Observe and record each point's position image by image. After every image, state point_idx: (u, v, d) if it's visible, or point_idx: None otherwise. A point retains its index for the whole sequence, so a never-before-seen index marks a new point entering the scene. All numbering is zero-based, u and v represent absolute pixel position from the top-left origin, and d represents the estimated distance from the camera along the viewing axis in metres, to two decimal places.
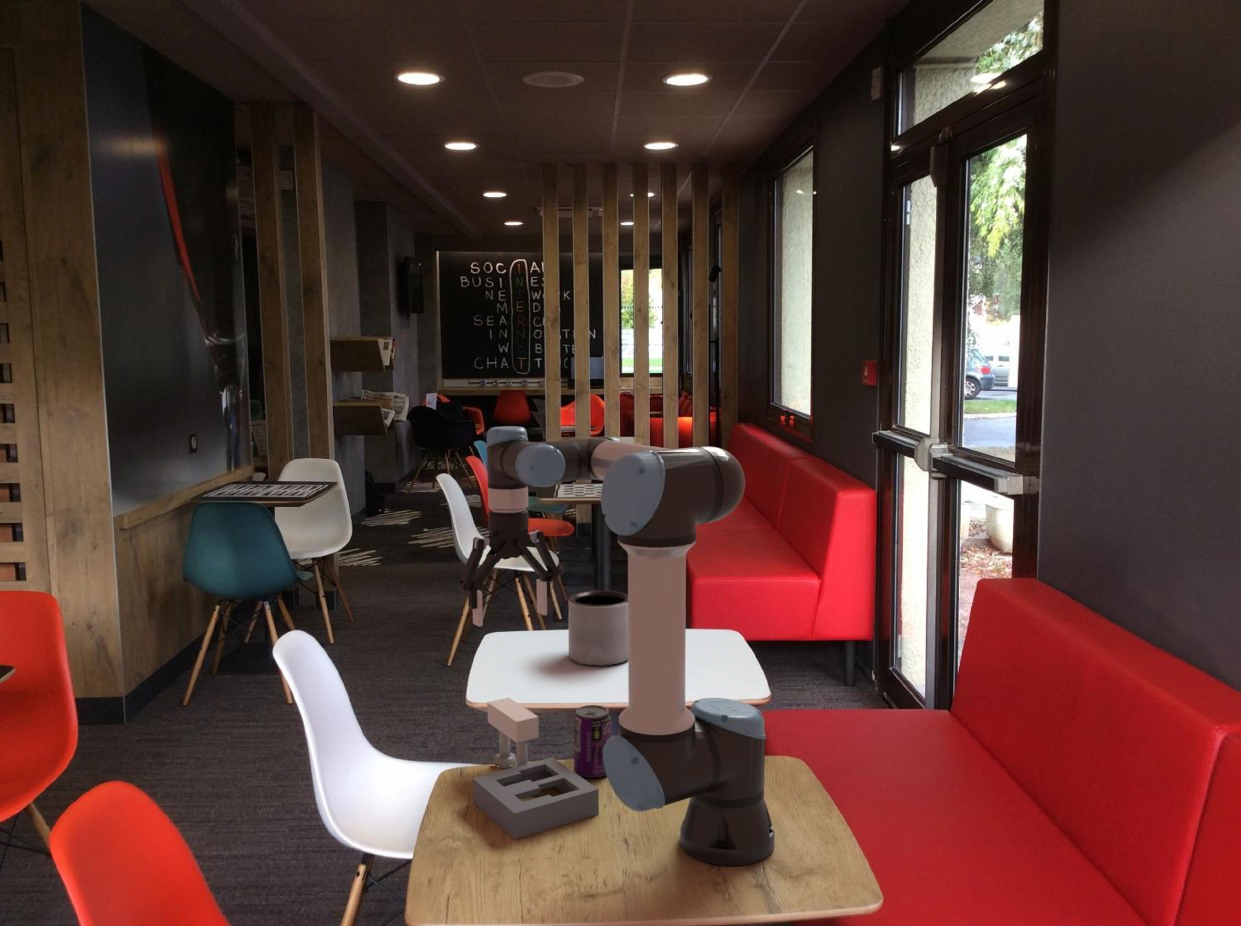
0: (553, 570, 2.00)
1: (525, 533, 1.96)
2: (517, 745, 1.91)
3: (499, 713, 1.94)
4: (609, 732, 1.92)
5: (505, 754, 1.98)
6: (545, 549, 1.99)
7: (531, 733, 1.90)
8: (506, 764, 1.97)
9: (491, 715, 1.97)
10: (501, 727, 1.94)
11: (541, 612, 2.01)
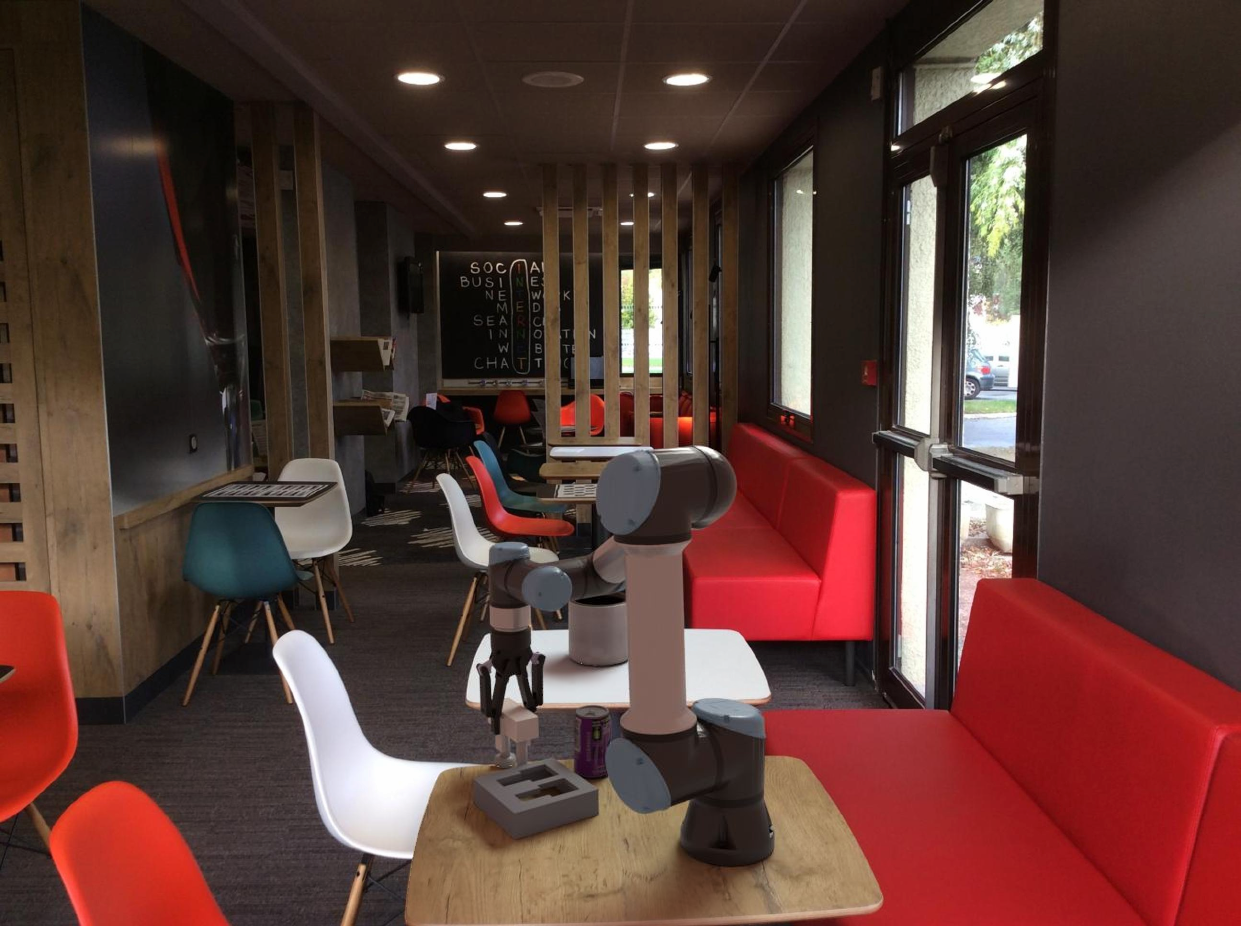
0: (538, 698, 1.96)
1: (528, 650, 1.94)
2: (517, 745, 1.91)
3: None
4: (609, 732, 1.92)
5: (505, 754, 1.98)
6: (540, 674, 1.95)
7: (531, 733, 1.90)
8: (506, 764, 1.97)
9: None
10: None
11: None
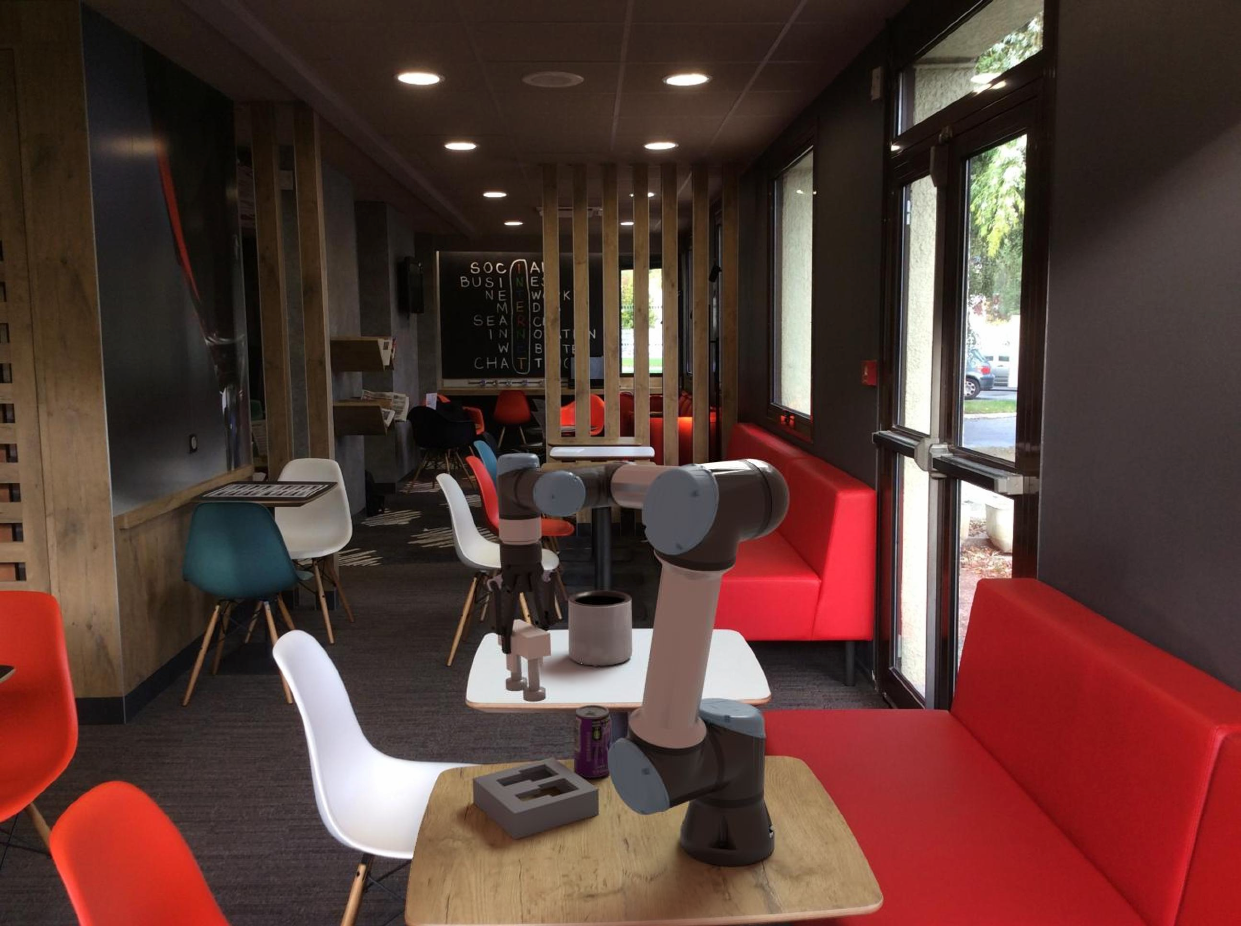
0: (550, 617, 1.88)
1: (539, 566, 1.86)
2: (529, 664, 1.84)
3: None
4: (609, 732, 1.92)
5: (516, 677, 1.90)
6: (552, 592, 1.88)
7: (543, 651, 1.83)
8: (518, 687, 1.89)
9: None
10: None
11: None
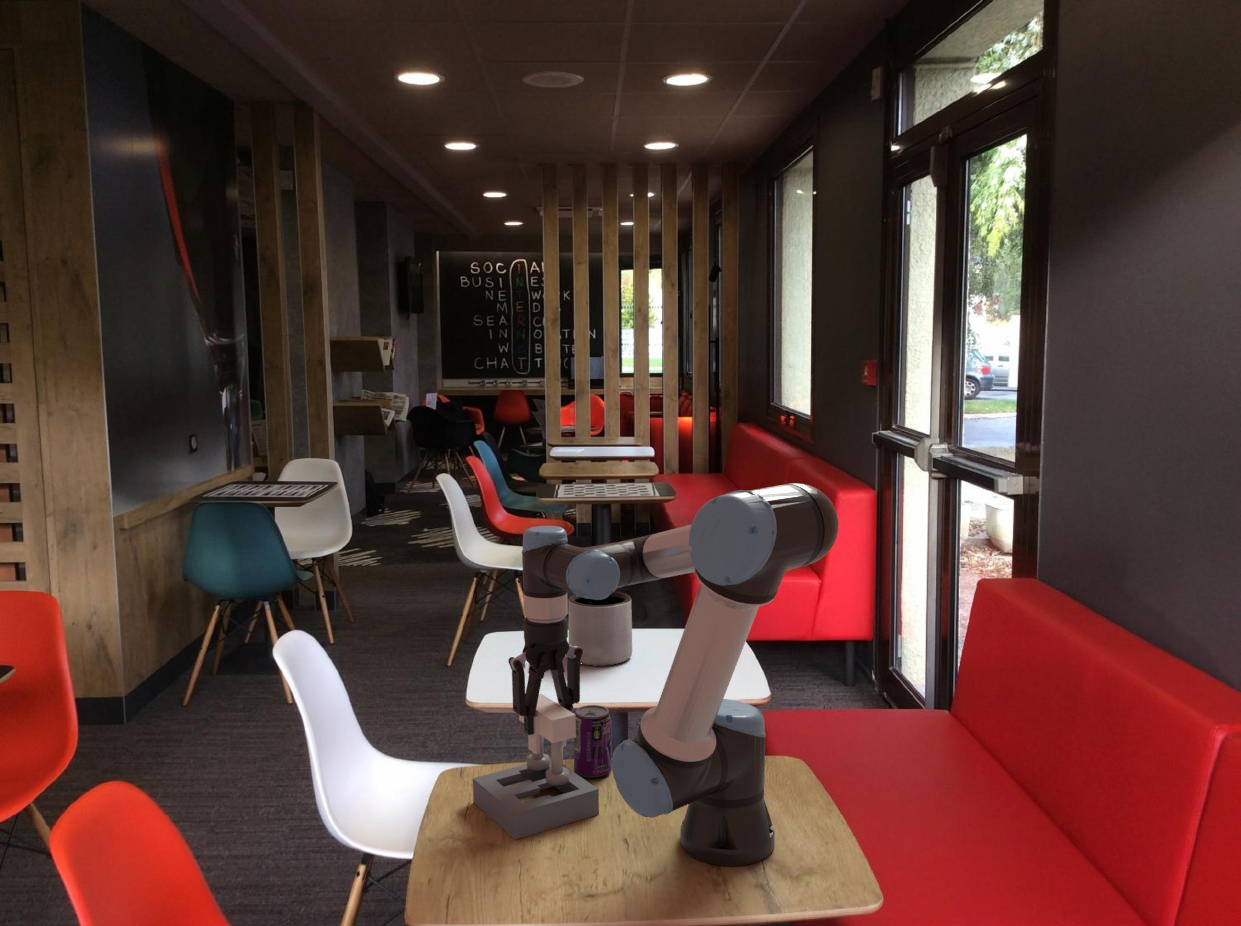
0: (575, 695, 1.81)
1: (564, 643, 1.79)
2: (552, 745, 1.77)
3: None
4: (609, 732, 1.92)
5: (538, 755, 1.83)
6: (577, 669, 1.81)
7: (568, 733, 1.75)
8: (539, 766, 1.82)
9: None
10: None
11: None
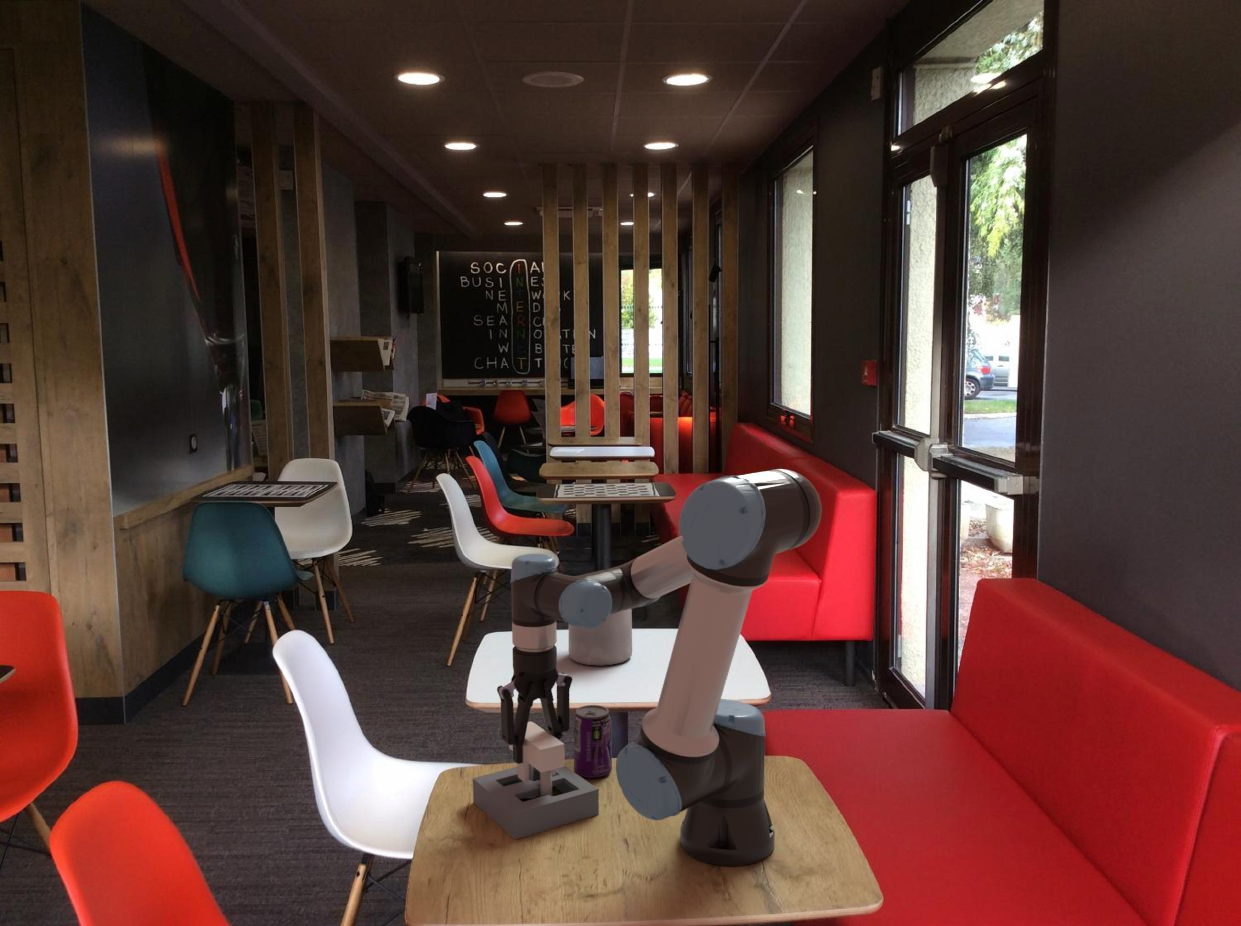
0: (564, 723, 1.80)
1: (553, 671, 1.78)
2: (541, 774, 1.76)
3: None
4: (609, 732, 1.92)
5: None
6: (566, 697, 1.80)
7: (557, 762, 1.75)
8: None
9: None
10: None
11: None
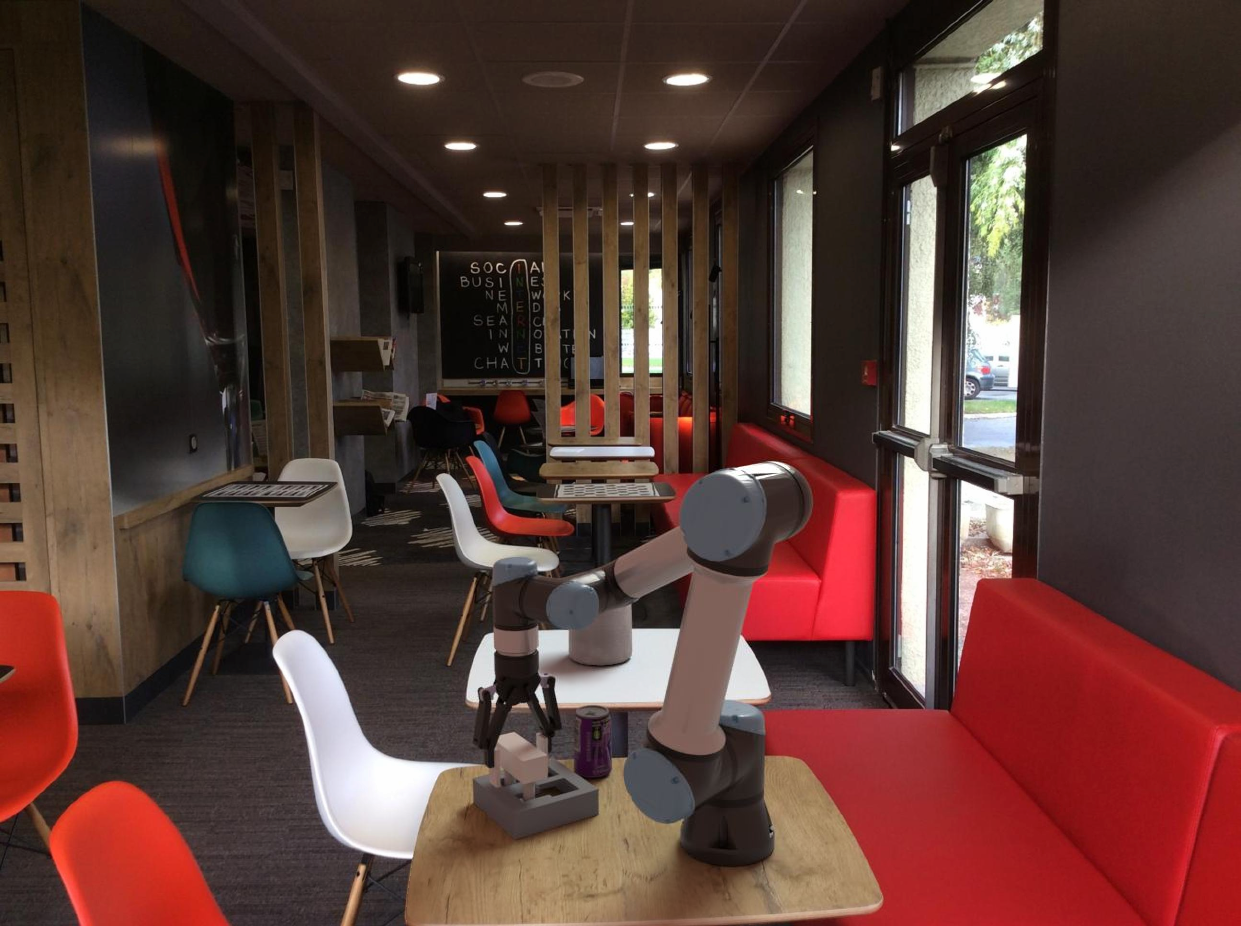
0: (556, 723, 1.79)
1: (535, 676, 1.76)
2: (524, 786, 1.74)
3: (504, 750, 1.77)
4: (609, 732, 1.92)
5: None
6: (553, 697, 1.79)
7: (540, 773, 1.73)
8: None
9: None
10: (506, 766, 1.77)
11: None
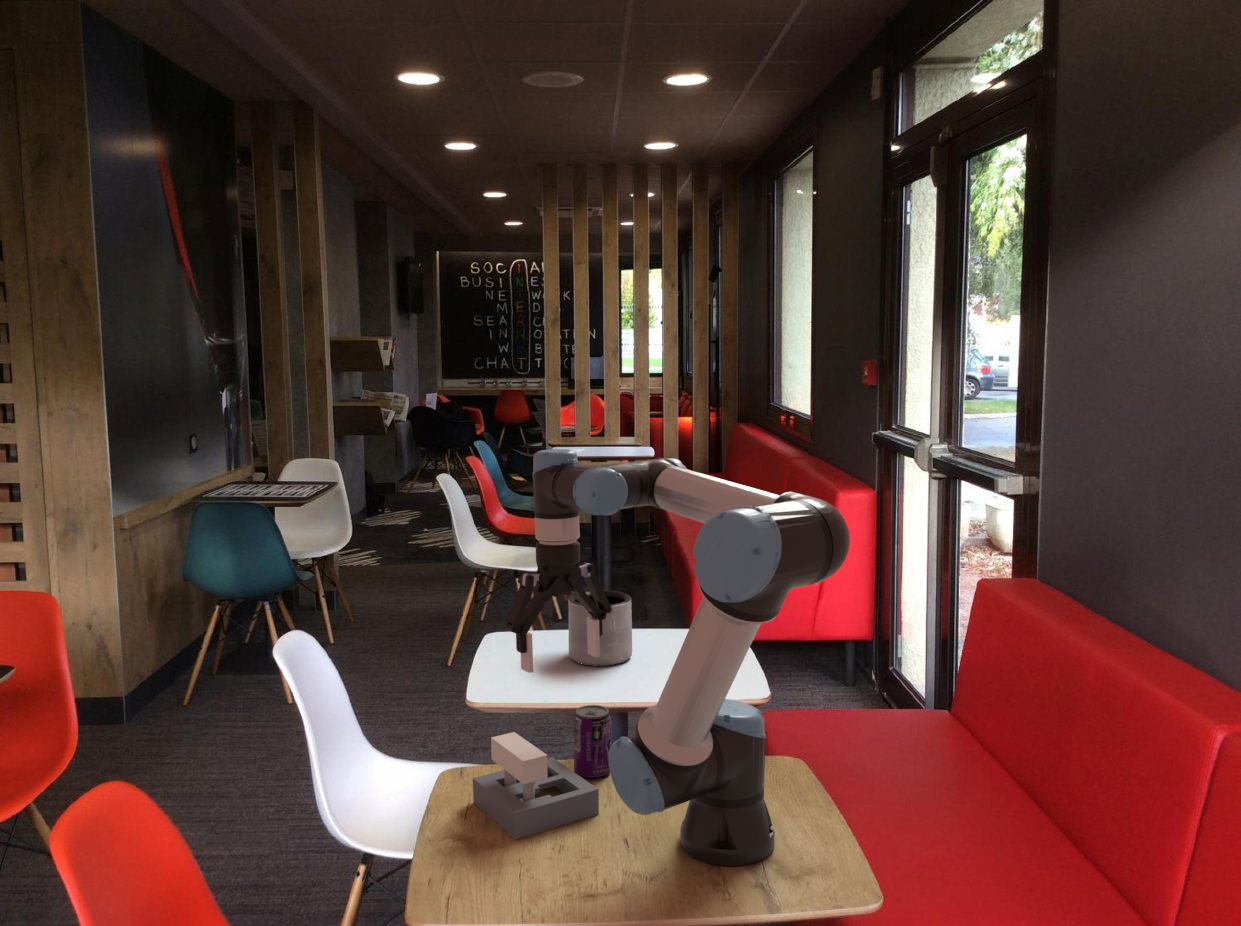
0: (605, 607, 1.82)
1: (576, 567, 1.78)
2: (524, 786, 1.74)
3: (504, 750, 1.77)
4: (609, 732, 1.92)
5: None
6: (597, 584, 1.80)
7: (540, 773, 1.73)
8: None
9: (495, 752, 1.80)
10: (506, 766, 1.77)
11: (593, 653, 1.82)
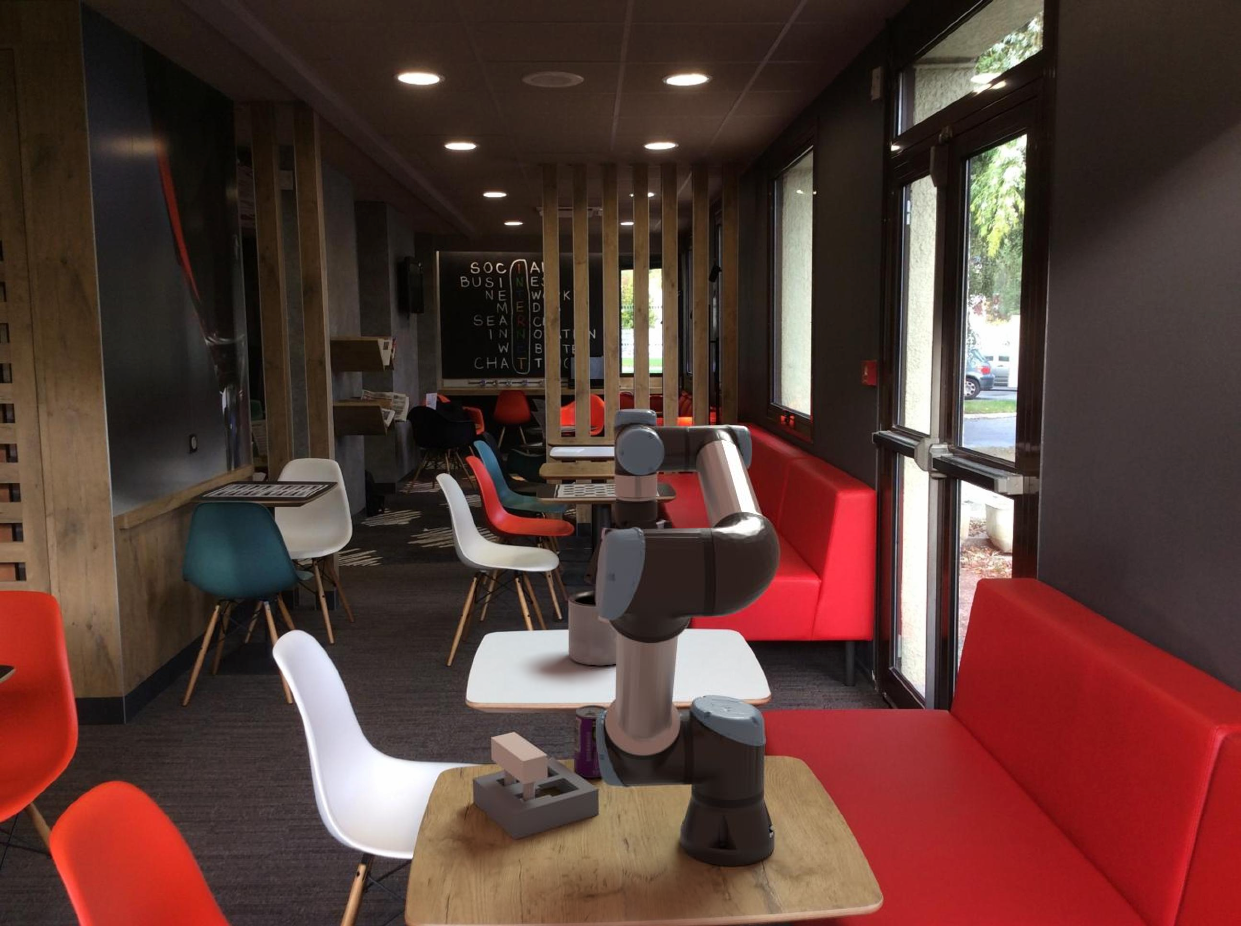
0: None
1: (653, 524, 1.84)
2: (524, 786, 1.74)
3: (504, 750, 1.77)
4: None
5: None
6: None
7: (540, 773, 1.73)
8: None
9: (495, 752, 1.80)
10: (506, 766, 1.77)
11: None
